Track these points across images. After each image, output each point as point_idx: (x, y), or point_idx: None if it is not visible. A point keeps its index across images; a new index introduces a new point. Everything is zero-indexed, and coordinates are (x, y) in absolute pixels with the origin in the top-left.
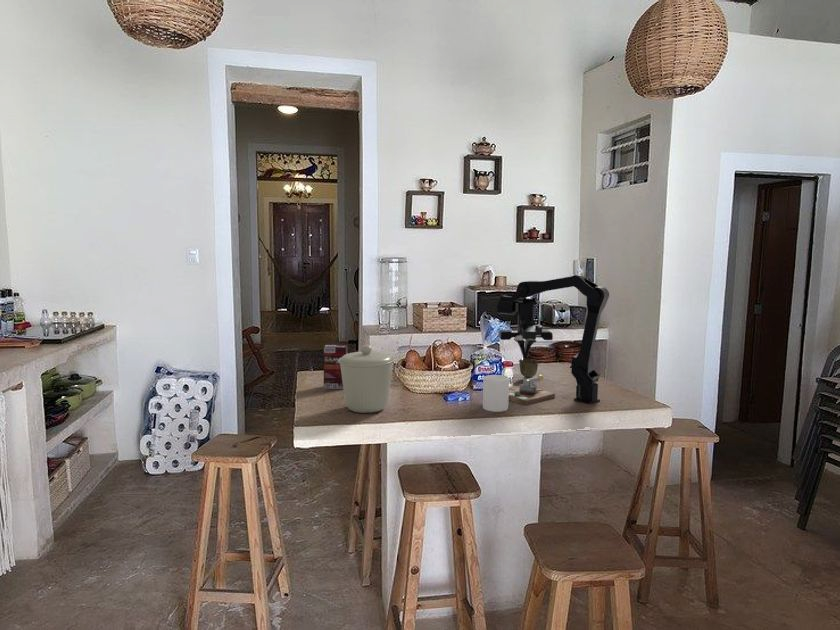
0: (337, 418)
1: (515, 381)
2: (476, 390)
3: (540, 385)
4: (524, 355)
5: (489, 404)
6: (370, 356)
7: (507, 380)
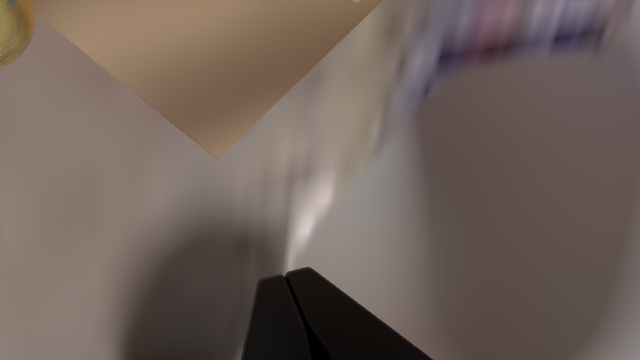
0: None
1: None
2: (583, 30)
3: (46, 289)
4: (315, 306)
5: None
6: None
7: None
